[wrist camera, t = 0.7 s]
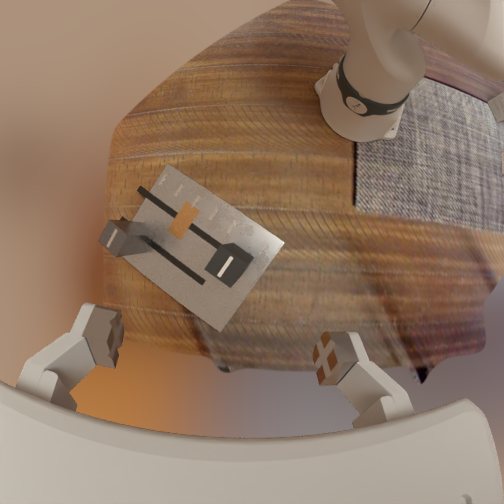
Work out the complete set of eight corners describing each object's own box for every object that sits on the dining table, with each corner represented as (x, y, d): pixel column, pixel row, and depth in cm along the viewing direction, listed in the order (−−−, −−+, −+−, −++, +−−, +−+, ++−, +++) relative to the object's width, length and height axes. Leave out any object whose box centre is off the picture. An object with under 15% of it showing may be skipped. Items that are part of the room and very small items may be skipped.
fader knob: (233, 242, 48) (220, 245, 37) (254, 257, 48) (247, 264, 36) (220, 261, 48) (203, 269, 37) (241, 276, 48) (230, 288, 37)
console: (162, 160, 50) (130, 140, 37) (284, 242, 49) (286, 245, 36) (112, 243, 52) (72, 246, 39) (222, 328, 51) (205, 357, 38)
